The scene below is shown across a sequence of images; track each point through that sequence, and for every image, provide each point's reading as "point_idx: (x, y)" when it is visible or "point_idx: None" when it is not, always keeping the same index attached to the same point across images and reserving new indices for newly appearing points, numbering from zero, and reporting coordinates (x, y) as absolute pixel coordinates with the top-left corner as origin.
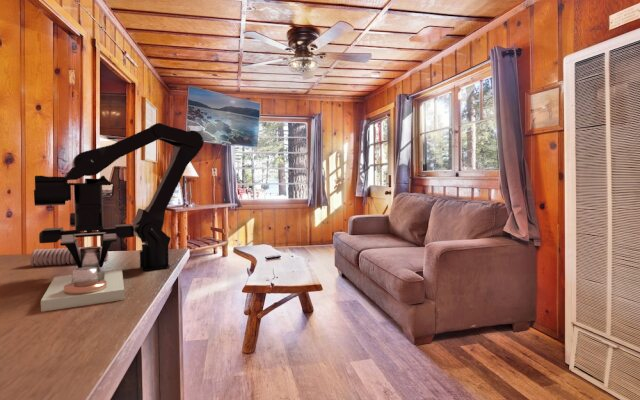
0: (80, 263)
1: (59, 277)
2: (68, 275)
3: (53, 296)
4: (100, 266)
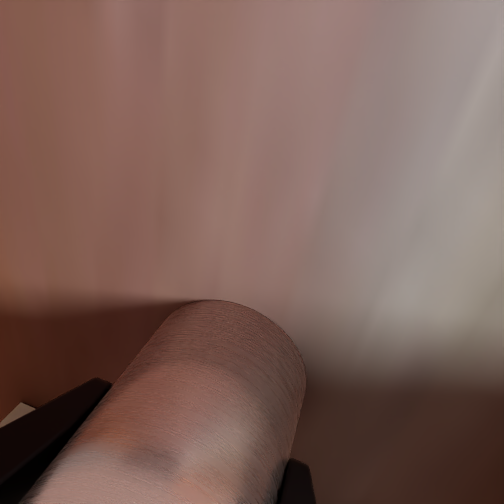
0: None
1: None
2: None
3: None
4: None
